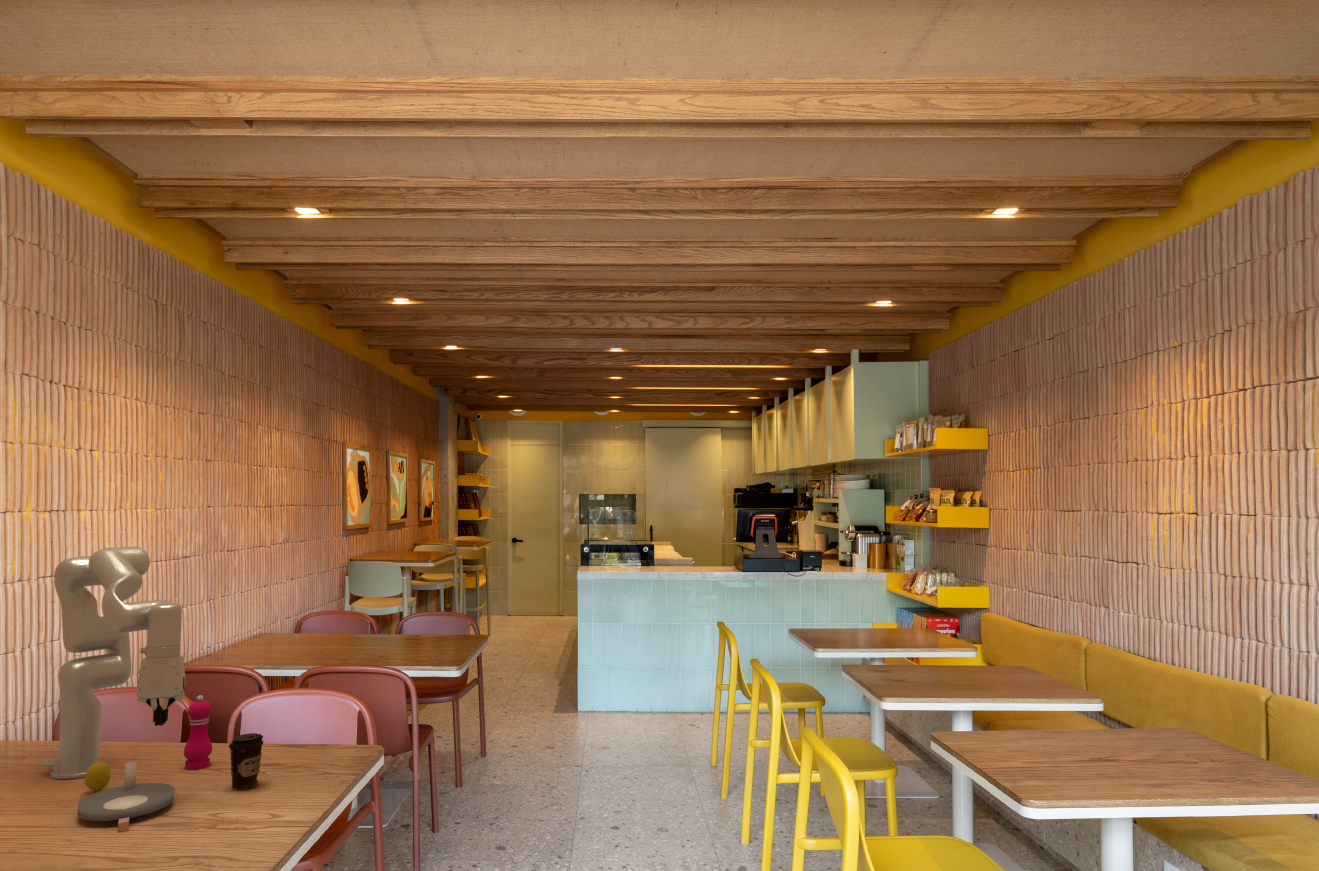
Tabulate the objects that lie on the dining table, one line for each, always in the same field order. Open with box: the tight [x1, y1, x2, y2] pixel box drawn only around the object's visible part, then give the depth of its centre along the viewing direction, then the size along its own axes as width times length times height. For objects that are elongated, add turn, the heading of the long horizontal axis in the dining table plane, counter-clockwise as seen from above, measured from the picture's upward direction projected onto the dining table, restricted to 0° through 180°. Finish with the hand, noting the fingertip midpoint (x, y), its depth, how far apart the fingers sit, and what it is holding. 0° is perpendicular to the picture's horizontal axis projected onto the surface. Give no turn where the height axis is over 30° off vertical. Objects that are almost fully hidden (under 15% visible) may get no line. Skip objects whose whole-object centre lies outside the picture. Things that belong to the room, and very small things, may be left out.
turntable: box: [77, 761, 176, 822], centre depth 204 cm, size 20×20×8 cm
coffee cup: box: [228, 732, 264, 791], centre depth 222 cm, size 9×8×13 cm
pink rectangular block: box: [117, 817, 130, 833], centre depth 193 cm, size 3×2×2 cm, turn 29°
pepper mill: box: [183, 694, 213, 771], centre depth 239 cm, size 7×7×20 cm
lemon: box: [84, 760, 111, 793], centre depth 217 cm, size 6×6×8 cm
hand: (160, 724), depth 213 cm, fingers closed
